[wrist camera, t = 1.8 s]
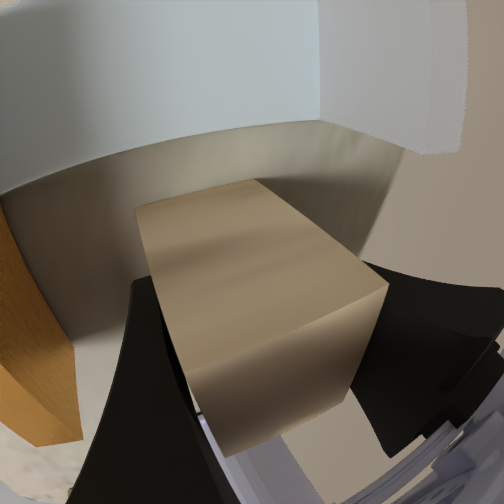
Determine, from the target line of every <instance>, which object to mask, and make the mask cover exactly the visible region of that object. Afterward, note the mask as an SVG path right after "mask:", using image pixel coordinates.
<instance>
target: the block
mask: <svg viewBox="0 0 504 504" xmlns="http://www.w3.org/2000/svg"><path fill="white" fill-rule="evenodd" d="M134 210H135V215H136V219H137V223H138V228H139V232H140V236H141V240H142V244H143V248H144V251H145V255H146V259H147V262H148V266H149V270H150V273H151V277H152V280H153V284H154V287H155V290H156V294H157V297H158V300H159V303H160V307H161V310H162V313H163V316H164V319H165V322H166V325H167V328H168V331H169V334H170V337H171V340H172V342H173V345H174V348H175V351H176V354H177V356H178V359H179V362H180V364H181V367H182V370H183V372H184V375H185V377H186V379H187V382H188V384H189V386H190V388H191V391H192V393H193V395H194V397H195V399H196V402H197V404H198V406H199V408H200V410H201V412H202V414H203V416H204V419H205V421H206V423H207V425H208V427H209V429H210V431H211V433H212V435H213V437H214V439H215V441H216V442H217V444H218V446H219V448H220V450H221V452H222V454H223V456H224V458H227V457H229V456H232V455H235V454H237V453H240V452H242V451H245V450H247V449H250V448H252V447H254V446H257V445H259V444H261V443H264V442H266V441H268V440H270V439H273V438H275V437H277V436H279V435H281V434H283V433H285V432H287V431H289V430H292V429H293V428H296V427H298V426H300V425H301V424H303V423H305V422H307V421H309V420H311V419H313V418H315V417H317V416H318V415H320V414H322V413H324V412H326V411H327V410H329V409H331V408H333V407H334V406H336V405H338V404H340V403H341V402H343V400H344V398H345V396H346V394H347V392H348V389H349V387H350V385H351V383H352V381H353V379H354V376H355V374H356V372H357V370H358V367H359V365H360V362H361V360H362V358H363V355H364V353H365V350H366V348H367V345H368V343H369V340H370V338H371V335H372V332H373V330H374V327H375V324H376V322H377V319H378V316H379V313H380V310H381V308H382V305H383V302H384V299H385V296H386V293H387V290H388V286H389V283H388V282H387V281H385V280H384V279H383V278H382V277H381V276H379V275H378V274H377V273H376V272H375V271H373V270H372V269H371V268H370V267H369V266H367V265H366V264H365V263H364V262H363V261H361V260H360V259H359V258H358V257H356V256H355V255H354V254H353V253H351V252H350V251H349V250H348V249H346V248H345V247H344V246H343V245H341V244H340V243H339V242H338V241H336V240H335V239H334V238H333V237H331V236H330V235H329V234H327V233H326V232H325V231H324V230H322V229H321V228H320V227H318V226H317V225H316V224H315V223H313V222H312V221H311V220H309V219H308V218H307V217H305V216H304V215H303V214H301V213H300V212H299V211H297V210H296V209H295V208H293V207H292V206H291V205H289V204H288V203H287V202H285V201H284V200H283V199H281V198H280V197H278V196H277V195H276V194H274V193H273V192H272V191H270V190H269V189H267V188H266V187H265V186H263V185H262V184H260V183H259V182H258V181H256V180H255V179H250V180H245V181H240V182H236V183H231V184H227V185H222V186H218V187H214V188H210V189H205V190H201V191H197V192H193V193H189V194H185V195H181V196H177V197H174V198H170V199H166V200H162V201H158V202H155V203H151V204H148V205H144V206H140V207H137V208H134Z"/></svg>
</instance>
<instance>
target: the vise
mask: <svg viewBox="0 0 504 504" xmlns="http://www.w3.org/2000/svg"><path fill="white" fill-rule="evenodd" d="M467 71H468V32H467V15H466V3H465V0H19V1H17V2H15V3H13V4H10V5H8V6H6V7H4V8H2V9H0V194H3V193H5V192H7V191H10V190H12V189H14V188H17V187H19V186H21V185H24V184H26V183H29V182H31V181H34V180H36V179H39V178H42V177H44V176H47V175H50V174H52V173H55V172H58V171H61V170H64V169H66V168H69V167H72V166H75V165H78V164H81V163H85V162H88V161H91V160H94V159H98V158H101V157H104V156H108V155H111V154H115V153H118V152H122V151H126V150H130V149H133V148H137V147H141V146H145V145H150V144H154V143H158V142H163V141H167V140H172V139H176V138H181V137H186V136H191V135H197V134H202V133H208V132H214V131H220V130H226V129H233V128H240V127H247V126H255V125H263V124H272V123H282V122H293V121H305V120H323V121H326V122H330V123H333V124H337V125H340V126H343V127H346V128H350V129H353V130H356V131H359V132H362V133H365V134H368V135H371V136H374V137H376V138H379V139H382V140H385V141H387V142H390V143H393V144H395V145H398V146H400V147H403V148H406V149H408V150H411V151H413V152H416V153H418V154H420V155H422V156H426V155H435V154H445V153H456V152H459V149H460V143H461V137H462V129H463V122H464V113H465V103H466V91H467Z"/></svg>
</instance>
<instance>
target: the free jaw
mask: <svg viewBox="0 0 504 504" xmlns="http://www.w3.org/2000/svg"><path fill="white" fill-rule="evenodd" d="M0 421H1V422H2V423H3V424H5V425H6V426H7V427H8V428H10V429H11V430H12V431H14V432H15V433H16V434H18V435H19V436H21V437H22V438H24V439H25V440H26V441H28V442H29V443H31V444H32V445H34V446H35V447H41V446H48V445H55V444H62V443H68V442H74V441H79V440H83V434H82V428H81V421H80V413H79V405H78V396H77V386H76V373H75V354H74V346H73V345H72V343H71V342H70V340H69V339H68V337H67V336H66V334H65V333H64V331H63V330H62V328H61V327H60V325H59V323H58V322H57V320H56V319H55V317H54V315H53V314H52V312H51V310H50V309H49V307H48V305H47V304H46V302H45V300H44V298H43V297H42V295H41V293H40V291H39V289H38V288H37V286H36V284H35V282H34V280H33V278H32V276H31V274H30V272H29V270H28V268H27V266H26V264H25V262H24V260H23V258H22V256H21V254H20V252H19V250H18V247H17V245H16V243H15V241H14V238H13V236H12V234H11V231H10V229H9V226H8V224H7V221H6V219H5V216H4V214H3V211H2V208H1V206H0Z"/></svg>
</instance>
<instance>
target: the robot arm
mask: <svg viewBox="0 0 504 504" xmlns="http://www.w3.org/2000/svg"><path fill="white" fill-rule="evenodd" d="M361 261H362V260H361ZM363 262H364V263H365V264H366V265H367V266H369V267H370V268H371V269H372V270H373V271H375V272H376V273H377V274H378V275H379V276H381V277H382V278H383V279H384V280H385V281H387V282H388V283H389V286H388V290H387V293H386V296H385V299H384V302H383V305H382V308H381V310H380V313H379V316H378V319H377V322H376V324H375V327H374V330H373V332H372V335H371V338H370V340H369V343H368V345H367V348H366V350H365V353H364V355H363V358H362V360H361V362H360V365H359V367H358V370H357V372H356V374H355V376H354V379H353V381H352V383H351V385H350V388H351V390H352V392H353V393H354V395H355V396H356V398H357V399H358V402H359V403H360V405H361V407H362V409H363V410H364V412H365V414H366V416H367V418H368V420H369V421H370V423H371V425H372V427H373V429H374V432H375V434H376V436H377V438H378V440H379V442H380V444H381V446H382V448H383V451H384V452H385V453H386V454H387V455H388V457H389V458H392V457H393V456H395V455H396V454H397V453H399V452H400V451H401V450H403V449H404V448H405V447H406V446H408V445H409V444H410V443H411V442H412V441H414V440H415V439H416V438H417V437H418V436H419V435H421V434H422V435H423V436H424V437H425V439H426V440H425V441H424V442H423V443H422V444H421V445H420V446H418V447H417V448H416V449H415V450H414V451H413V452H411V453H410V454H409V455H408V456H407V457H406V458H404V459H403V460H402V461H401V462H399V463H398V464H397V465H396V466H394V467H393V468H392V469H391V470H389V471H388V472H386V473H385V474H384V475H382V476H381V477H380V478H378V479H377V480H376V481H374V482H373V483H371V484H370V485H368V486H367V487H365V488H364V489H362V490H361V491H359V492H358V493H356V494H355V495H353V496H352V497H350V498H349V499H347V500H345V501H344V502H342V503H340V504H381V503H383V502H384V501H385V500H387V499H388V498H389V497H391V496H392V495H393V494H395V493H396V492H397V491H398V490H399V489H401V488H402V487H403V486H405V485H406V484H407V483H408V482H409V481H411V480H412V479H413V478H414V477H415V476H416V475H418V474H419V473H420V472H421V471H422V470H423V469H424V468H425V467H427V466H428V465H429V464H430V463H431V462H432V461H433V460H434V459H435V458H436V457H437V456H438V455H439V454H440V453H441V452H442V451H443V450H444V449H445V448H446V447H447V446H448V445H449V444H450V443H451V442H452V441H453V440H454V439H455V438H456V437H457V435H458V434H459V433H460V432H461V431H462V430H463V431H464V433H463V435H462V436H460V437H459V438H458V439H457V440H455V441H454V442H453V443H452V444H450V445H449V446H448V447H447V448H446V449H445V450H444V451H443V452H442V453H441V454H440V455H439V456H438V457H437V459H436V460H435V461H434V462H433V464H432V465H431V468H432V469H433V470H434V471H433V472H431V473H430V474H429V475H428V476H427V477H425V478H424V479H423V480H422V481H421V482H419V483H418V484H417V485H416V486H414V487H413V488H412V489H411V490H409V491H408V492H406V493H405V494H404V495H402V496H401V497H400V498H398V499H397V500H396V501H394V502H393V503H391V504H504V349H503V350H502V352H501V353H500V354H498V353H497V351H498V350H499V348H500V345H499V344H498V343H497V342H496V341H495V340H496V338H497V337H498V335H499V334H500V333H501V331H502V330H503V328H504V290H502V289H501V288H494V287H472V286H463V285H454V284H447V283H441V282H436V281H431V280H426V279H421V278H417V277H412V276H409V275H405V274H402V273H398V272H395V271H391V270H388V269H385V268H382V267H379V266H376V265H373V264H371V263H367V262H365V261H363ZM66 504H325V502H324V501H323V499H322V498H321V497H320V495H319V494H318V492H317V491H316V489H315V488H314V486H313V485H312V483H311V482H310V481H309V479H308V478H307V476H306V475H305V473H304V472H303V470H302V469H301V467H300V466H299V464H298V462H297V461H296V459H295V458H294V456H293V455H292V453H291V452H290V450H289V449H288V447H287V445H286V444H285V443H284V441H283V439H282V437H281V436H280V435H279V436H277V437H275V438H273V439H270V440H268V441H266V442H264V443H261V444H259V445H257V446H254V447H252V448H250V449H247V450H245V451H242V452H240V453H237V454H235V455H232V456H229V457H227V458H224V456H223V454H222V452H221V450H220V448H219V446H218V444H217V442H216V441H215V439H214V437H213V435H212V433H211V431H210V429H209V427H208V425H207V423H206V421H205V419H204V416H203V414H202V415H199V416H197V413H196V410H195V408H194V404H193V401H192V398H191V395H190V391H189V388H188V385H187V381H186V378H185V375H184V372H183V370H182V367H181V364H180V362H179V359H178V356H177V354H176V351H175V348H174V345H173V342H172V340H171V337H170V334H169V331H168V328H167V325H166V322H165V319H164V316H163V313H162V310H161V307H160V303H159V300H158V297H157V294H156V290H155V287H154V284H153V280H152V277H151V275H150V276H147V277H144V278H141V279H137V280H134V281H133V282H132V284H131V293H130V302H129V309H128V316H127V321H126V326H125V332H124V337H123V342H122V346H121V350H120V354H119V359H118V363H117V367H116V371H115V375H114V378H113V382H112V385H111V389H110V392H109V396H108V399H107V402H106V405H105V408H104V411H103V414H102V417H101V420H100V423H99V426H98V428H97V431H96V434H95V436H94V439H93V441H92V444H91V446H90V449H89V451H88V454H87V456H86V459H85V462H84V464H83V467H82V469H81V471H80V474H79V476H78V478H77V480H76V482H75V484H74V486H73V488H72V491H71V493H70V495H69V497H68V499H67V502H66ZM332 504H336V503H332Z"/></svg>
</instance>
